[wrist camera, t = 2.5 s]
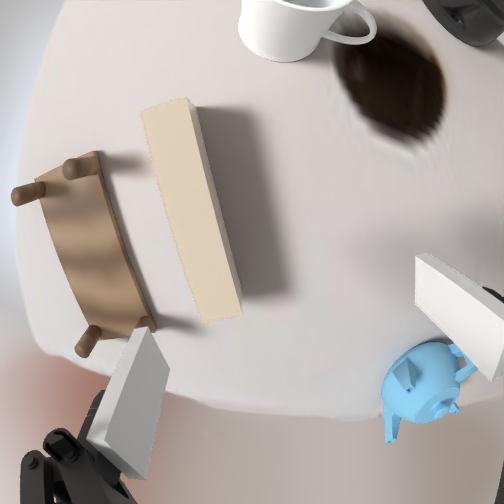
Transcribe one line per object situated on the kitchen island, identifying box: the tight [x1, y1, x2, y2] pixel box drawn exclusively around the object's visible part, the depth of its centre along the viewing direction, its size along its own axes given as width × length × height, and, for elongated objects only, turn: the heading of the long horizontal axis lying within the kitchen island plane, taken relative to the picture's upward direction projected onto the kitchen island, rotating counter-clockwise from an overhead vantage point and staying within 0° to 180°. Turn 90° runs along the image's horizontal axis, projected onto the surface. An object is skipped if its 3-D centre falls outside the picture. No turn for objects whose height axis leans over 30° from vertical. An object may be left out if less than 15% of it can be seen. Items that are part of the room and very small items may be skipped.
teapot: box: [382, 342, 478, 444], centre depth 35 cm, size 15×15×11 cm
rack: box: [11, 151, 157, 358], centre depth 28 cm, size 22×10×6 cm, turn 13°
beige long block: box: [140, 97, 243, 323], centre depth 26 cm, size 20×4×6 cm, turn 13°
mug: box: [239, 0, 377, 62], centre depth 18 cm, size 12×8×12 cm
